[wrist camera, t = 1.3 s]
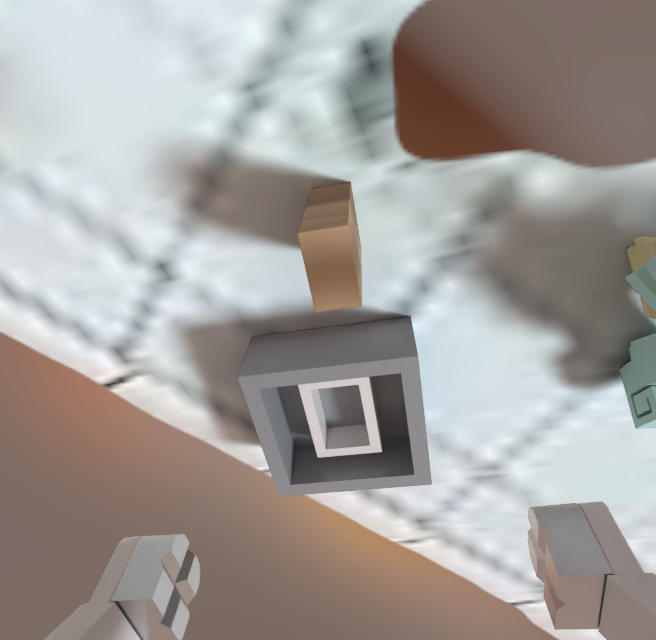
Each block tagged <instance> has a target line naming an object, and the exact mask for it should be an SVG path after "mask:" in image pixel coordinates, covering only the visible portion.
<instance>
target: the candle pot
mask: <svg viewBox="0 0 656 640" xmlns="http://www.w3.org/2000/svg"><path fill="white" fill-rule="evenodd" d="M237 378H238V381H239V384H240V386H241V389H242V392H243V395H244V398H245V401H246V403H247V406H248V409H249V412H250V415H251V418H252V421H253V423H254V426H255V429H256V432H257V435H258V438H259V440H260V443H261V446H262V449H263V452H264V455H265V458H266V460H267V463H268V466H269V469H270V472H271V475H272V478H273V480H274V483H275V486H276V489H277V492H278V494H279V496H290V495H303V494H316V493H328V492H341V491H354V490H367V489H380V488H392V487H405V486H418V485H431V484H432V481H431V472H430V463H429V454H428V444H427V435H426V426H425V417H424V408H423V398H422V389H421V380H420V371H419V361H418V354H417V348H416V343H415V338H414V332H413V327H412V322H411V316H409V317H402V318H394V319H386V320H378V321H371V322H363V323H355V324H347V325H340V326H332V327H324V328H316V329H308V330H301V331H293V332H285V333H277V334H270V335H262V336H254V337H252V338H251V341H250V343H249V346H248V349H247V352H246V354H245V357H244V360H243V363H242V365H241V368H240V371H239V374H238V376H237Z"/></svg>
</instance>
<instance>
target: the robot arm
mask: <svg viewBox="0 0 656 640" xmlns="http://www.w3.org/2000/svg"><path fill="white" fill-rule="evenodd" d="M528 519H529V522H530V525H531V527H532V528H531V529H530V530H529V531H528V544H529V551H530V556H531V560H532V563H533V567H534V570H535V573H536V576H537V577H538V578H539V579H540V580H541V581H542V582H544V599H545V602H546V605H547V608H548V611H549V613H550V616H551V619H552V622H553V625H554V628H555V629H599V632H600V633H601V634H602V635H603V636H604V637H605V638H606V639H607V640H656V575H655V574H653V573H644V571H643V570H642V568H641V566H640V564H639V562H638V561H637V559H636V557H635V555H634V553H633V552H632V550H631V548H630V546H629V545H628V543H627V541H626V539H625V537H624V536H623V534H622V532H621V530H620V528H619V527H618V525H617V523H616V521H615V519H614V518H613V516H612V514H611V512H610V511H609V509H608V507H607V505H605V504H604V503H603V502H589V503H578V504H576V503H570V504H559V505H548V506H537V507H530V508H529V510H528ZM188 545H189V541H188V540H187V538H186V536H185V534H180V535H159V536H140V537H126V538H124V539H123V540H122V541H121V542H120V543H119V544H118V546H117V548H116V550H115V552H114V554H113V556H112V558H111V560H110V562H109V563H108V565H107V568H106V569H105V571H104V573H103V575H102V577H101V579H100V581H99V583H98V585H97V587H96V589H95V591H94V593H93V596H92V598H91V599H90V601H89V603H88V604H82V605H81V606H80V607H79V608H78V609H77V610H76V611H75V612H74V613H73V614H71V615H70V616H69V617H68V618H67V619H66V620H65V621H64V622H63V623H62V624H61V625H59V626H58V627H57V628H56V629H55V630H54V631H53V632H52V633H51V634H50V635H49V636H48V637H46V638H45V639H44V640H182V638H183V635H184V632H185V629H186V625H187V622H188V619H189V616H190V614H189V611H188V608H187V604H188V603H189V602H190V601H191V600H192V599H193V598H194V597H195V596H196V592H197V589H198V586H199V579H200V567H199V561H198V559H197V557H196V555H195V554H194V553H192V552H191V551H189V550H187V548H188Z"/></svg>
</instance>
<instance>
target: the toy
mask: <svg viewBox="0 0 656 640" xmlns="http://www.w3.org/2000/svg"><path fill="white" fill-rule="evenodd" d="M634 243H635V246H631V247H629V248H627V249H626V250H627V254H628V257H629V261H630V264H631V268H632V271H633V273H631V274H630V275H628V276H627V277H626V278H624V279H625V280H626V281H627V282H628V283H629V284H630V285H631V286H632V287H633V288H634V290H635V291H636V292H637V293H638V294H639V295H640V298H641V302H642V305H643V309H644V312H645V315H646V316H648V317H651V318H653V319H656V237H648V236H640V237H638V238H635V239H634ZM630 345H631V347H629V351H630V357H631V361H630V362H629V363H628V364H626V365H625V366H623V367H622V368H621V369H620V374H621V377H622V381H623V384H624V388H625V392H626V395H627V399H628V402H629V406H630V410H631V413H632V417H633V421H634V424H635V428H656V333H654V334H651V335H649V336H646V337H643V338H640V339H638V340H635V341H632V342H630Z"/></svg>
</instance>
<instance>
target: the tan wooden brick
mask: <svg viewBox="0 0 656 640" xmlns="http://www.w3.org/2000/svg"><path fill="white" fill-rule="evenodd" d="M297 234H298V238H299V242H300V247H301V251H302V255H303V260H304V264H305V269H306V273H307V277H308V282H309V286H310V291H311V295H312V299H313V304H314V308H315V312H322V311H329V310H337V309H344V308H352V307H359V306H362V277H361V244H360V238H359V231H358V225H357V219H356V213H355V206H354V200H353V194H352V188H351V182H348V183H342V184H336V185H330V186H324V187H319V188H313V189H311V192H310V195H309V198H308V202H307V205H306V208H305V211H304V214H303V217H302V220H301V224H300V227H299V230H298V233H297Z"/></svg>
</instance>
